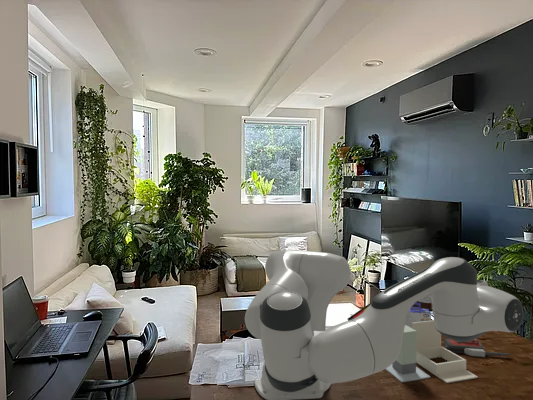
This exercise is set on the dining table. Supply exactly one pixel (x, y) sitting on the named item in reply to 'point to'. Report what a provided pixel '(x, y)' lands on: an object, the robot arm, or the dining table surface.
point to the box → (407, 353)
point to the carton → (438, 354)
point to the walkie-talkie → (469, 348)
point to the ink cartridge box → (417, 315)
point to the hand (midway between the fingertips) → (424, 283)
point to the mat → (408, 377)
